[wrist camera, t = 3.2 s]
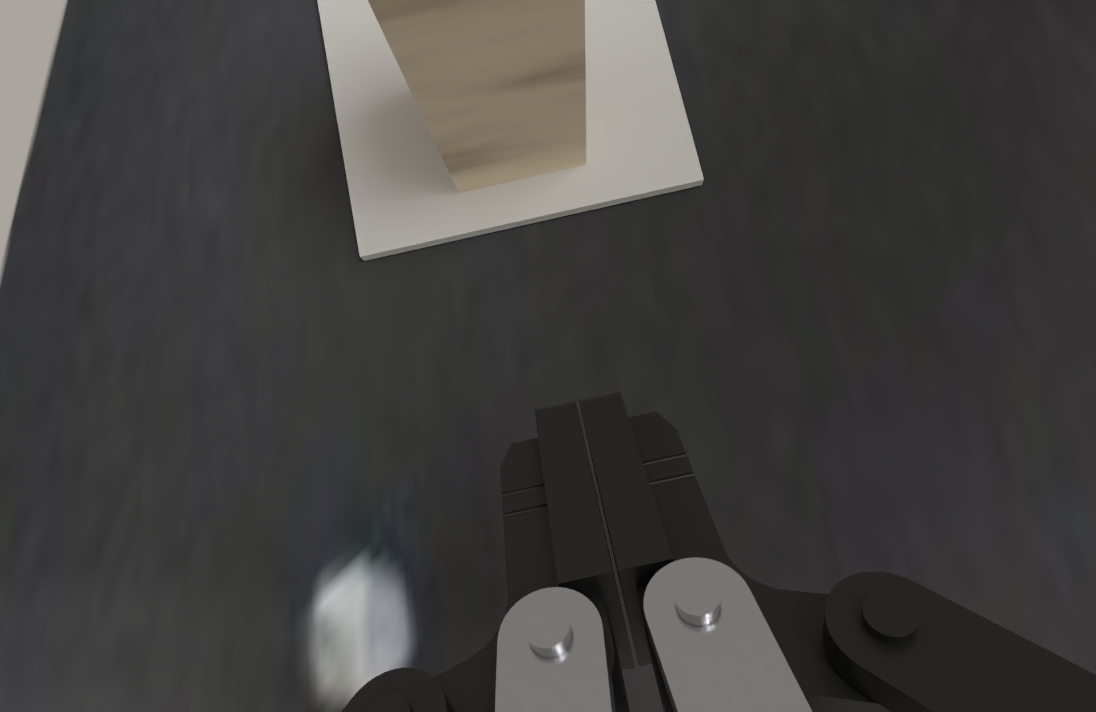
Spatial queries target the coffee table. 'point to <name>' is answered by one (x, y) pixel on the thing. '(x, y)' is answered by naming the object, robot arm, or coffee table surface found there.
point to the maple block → (494, 82)
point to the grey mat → (446, 215)
